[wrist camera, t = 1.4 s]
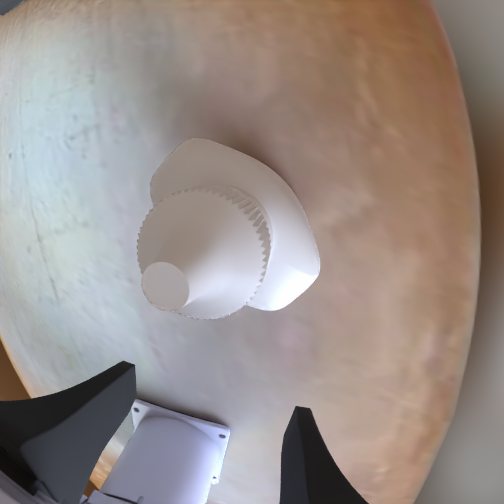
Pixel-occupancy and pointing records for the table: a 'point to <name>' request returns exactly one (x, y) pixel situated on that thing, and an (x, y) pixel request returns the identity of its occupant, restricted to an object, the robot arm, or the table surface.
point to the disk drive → (8, 5)
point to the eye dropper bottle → (223, 235)
